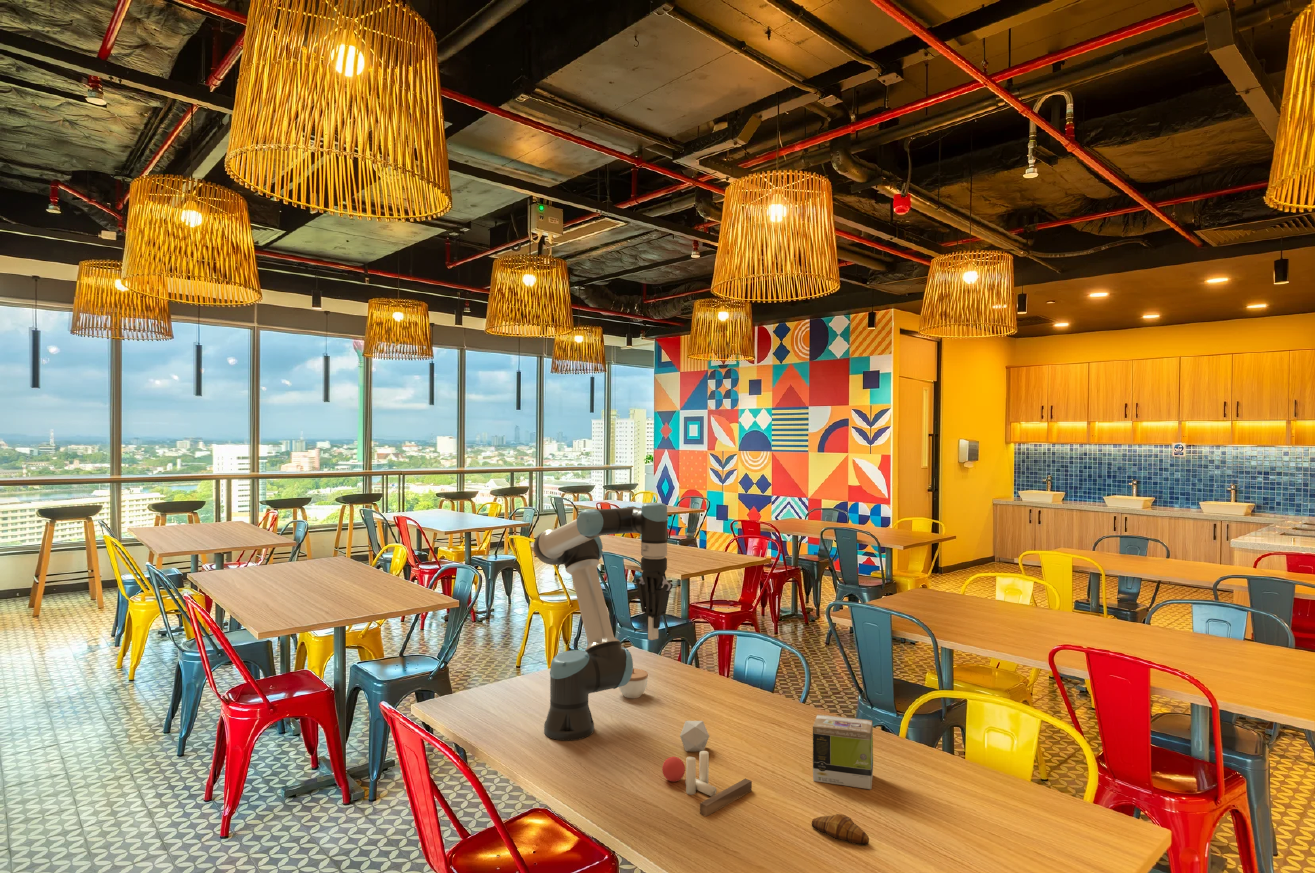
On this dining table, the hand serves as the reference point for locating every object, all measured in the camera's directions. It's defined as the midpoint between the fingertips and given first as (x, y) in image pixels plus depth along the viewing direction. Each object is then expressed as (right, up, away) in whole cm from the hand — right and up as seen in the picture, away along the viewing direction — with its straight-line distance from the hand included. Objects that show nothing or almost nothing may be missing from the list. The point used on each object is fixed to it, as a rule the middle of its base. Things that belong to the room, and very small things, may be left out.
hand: (653, 638), depth 211 cm
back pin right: (+10, -32, -25) cm, 42 cm away
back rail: (+18, -32, -30) cm, 47 cm away
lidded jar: (-8, -33, +46) cm, 57 cm away
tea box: (+51, -33, -16) cm, 62 cm away
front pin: (+9, -31, -21) cm, 39 cm away
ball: (+5, -29, -19) cm, 35 cm away
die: (+12, -33, +1) cm, 35 cm away
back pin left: (+13, -32, -22) cm, 41 cm away
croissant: (+43, -33, -45) cm, 70 cm away
